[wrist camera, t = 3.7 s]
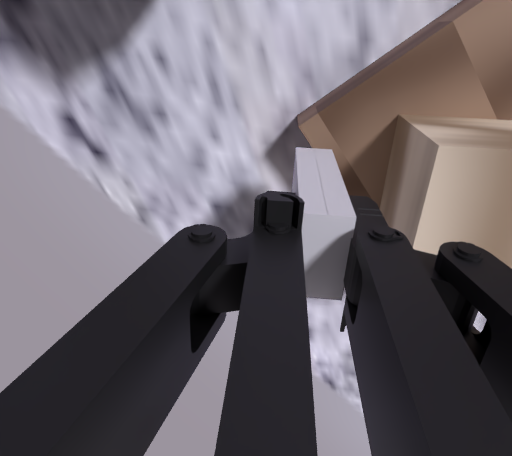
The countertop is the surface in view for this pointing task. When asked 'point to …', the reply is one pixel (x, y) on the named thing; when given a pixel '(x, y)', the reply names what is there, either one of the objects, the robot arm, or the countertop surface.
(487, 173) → the beech block
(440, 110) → the wooden flat square board
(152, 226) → the countertop surface
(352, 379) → the countertop surface
